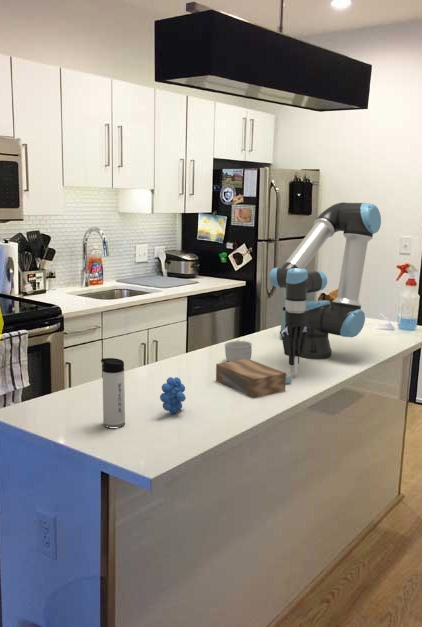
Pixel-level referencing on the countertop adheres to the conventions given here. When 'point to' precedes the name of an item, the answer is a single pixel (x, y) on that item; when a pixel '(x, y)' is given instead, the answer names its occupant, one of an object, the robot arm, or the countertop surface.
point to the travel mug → (113, 392)
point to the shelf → (250, 377)
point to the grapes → (172, 395)
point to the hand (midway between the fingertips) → (293, 372)
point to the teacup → (238, 350)
